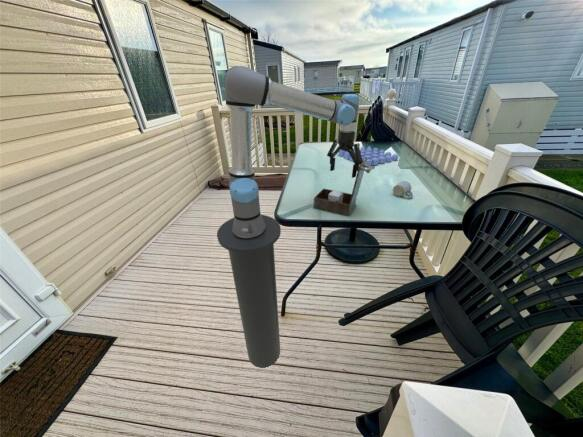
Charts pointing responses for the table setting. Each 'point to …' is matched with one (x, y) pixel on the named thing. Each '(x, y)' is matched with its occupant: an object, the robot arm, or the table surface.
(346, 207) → the brown wooden box
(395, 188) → the ceramic mug
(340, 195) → the product carton
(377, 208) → the table surface
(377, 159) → the purple egg tray
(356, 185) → the lid
